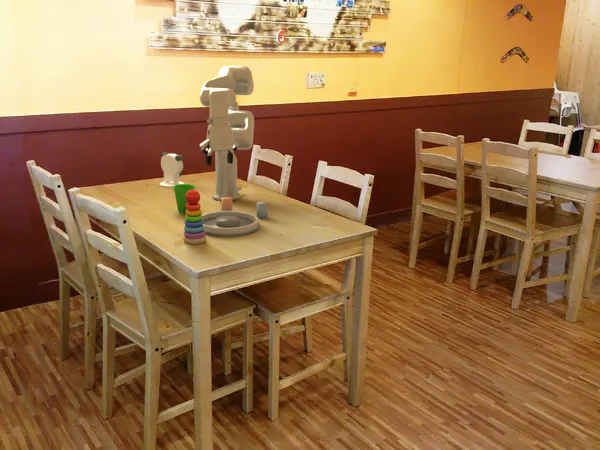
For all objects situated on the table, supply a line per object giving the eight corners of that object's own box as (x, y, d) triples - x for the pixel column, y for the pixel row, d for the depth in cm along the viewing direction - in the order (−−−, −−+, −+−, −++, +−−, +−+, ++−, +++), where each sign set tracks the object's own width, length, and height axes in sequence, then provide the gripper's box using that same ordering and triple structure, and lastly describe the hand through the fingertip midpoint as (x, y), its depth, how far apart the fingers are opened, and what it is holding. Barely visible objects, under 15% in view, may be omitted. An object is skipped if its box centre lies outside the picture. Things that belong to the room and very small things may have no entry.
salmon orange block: (225, 210, 245) (225, 196, 243) (234, 211, 243) (234, 197, 241) (219, 212, 241) (219, 198, 240) (228, 214, 239) (228, 200, 238)
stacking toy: (184, 237, 210) (182, 186, 204) (206, 237, 211) (205, 187, 205) (182, 244, 203) (180, 192, 197) (205, 244, 203) (204, 192, 198)
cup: (191, 216, 235) (190, 189, 232) (170, 214, 237) (169, 187, 234) (199, 210, 244) (198, 184, 240) (178, 208, 245) (178, 182, 242)
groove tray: (221, 214, 239) (221, 207, 238) (271, 224, 228) (271, 217, 227) (183, 229, 219) (182, 221, 218) (235, 241, 208) (235, 233, 207)
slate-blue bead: (260, 215, 240) (260, 201, 238) (269, 217, 238) (269, 202, 236) (254, 217, 236) (254, 203, 234) (263, 219, 234) (264, 205, 232)
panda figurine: (189, 183, 287) (188, 153, 282) (173, 188, 278) (172, 157, 273) (171, 180, 293) (170, 150, 288) (155, 184, 283) (153, 154, 279)
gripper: (204, 123, 223) (205, 167, 228) (242, 121, 233) (242, 164, 238) (195, 121, 229) (196, 164, 234) (233, 119, 239) (233, 161, 244)
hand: (219, 164), depth 236 cm, fingers open, 9 cm apart
